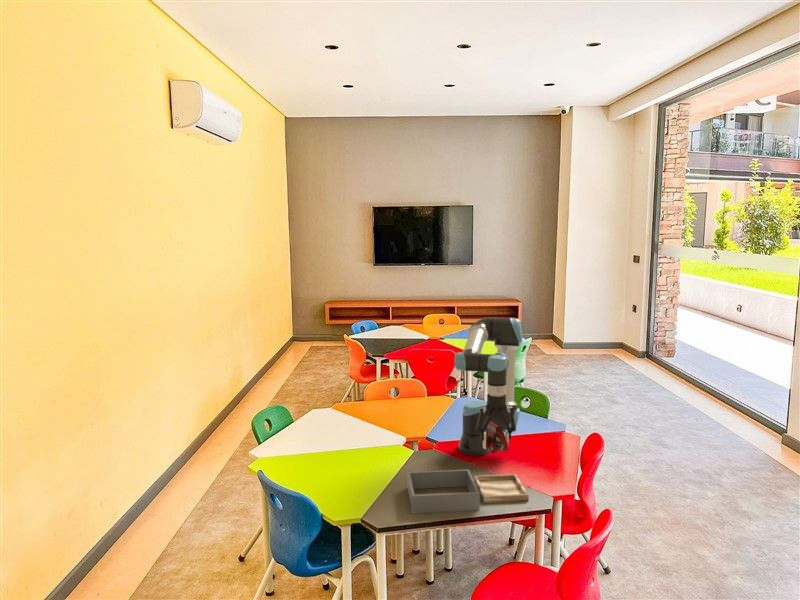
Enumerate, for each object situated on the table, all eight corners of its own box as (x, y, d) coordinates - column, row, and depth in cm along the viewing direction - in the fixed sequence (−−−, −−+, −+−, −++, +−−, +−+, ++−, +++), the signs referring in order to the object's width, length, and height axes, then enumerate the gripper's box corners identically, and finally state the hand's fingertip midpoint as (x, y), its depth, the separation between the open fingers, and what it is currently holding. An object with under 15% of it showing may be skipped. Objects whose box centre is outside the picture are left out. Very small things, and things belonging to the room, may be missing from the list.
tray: (474, 481, 235) (474, 475, 235) (515, 479, 237) (515, 473, 236) (484, 502, 218) (484, 497, 217) (528, 500, 219) (528, 494, 219)
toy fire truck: (497, 457, 217) (497, 432, 215) (479, 445, 228) (480, 421, 226) (511, 453, 220) (512, 429, 218) (493, 442, 231) (494, 418, 229)
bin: (407, 487, 230) (407, 472, 229) (468, 484, 232) (469, 469, 231) (412, 513, 210) (412, 496, 209) (479, 510, 212) (479, 493, 211)
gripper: (471, 397, 216) (471, 452, 219) (525, 396, 217) (523, 450, 221) (468, 391, 223) (467, 444, 227) (520, 390, 224) (518, 442, 228)
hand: (495, 447), depth 224 cm, fingers closed on toy fire truck, 8 cm apart
